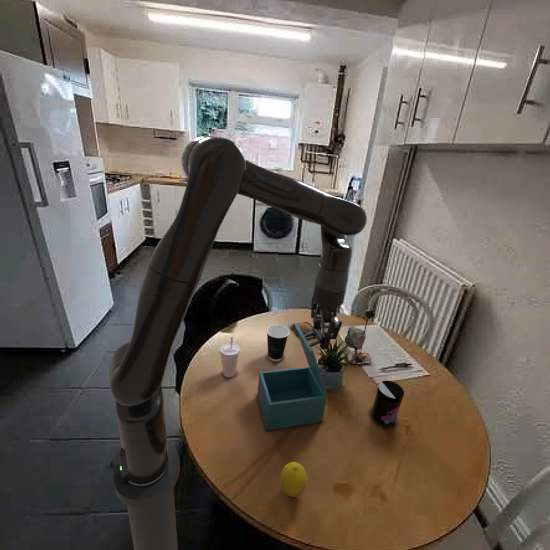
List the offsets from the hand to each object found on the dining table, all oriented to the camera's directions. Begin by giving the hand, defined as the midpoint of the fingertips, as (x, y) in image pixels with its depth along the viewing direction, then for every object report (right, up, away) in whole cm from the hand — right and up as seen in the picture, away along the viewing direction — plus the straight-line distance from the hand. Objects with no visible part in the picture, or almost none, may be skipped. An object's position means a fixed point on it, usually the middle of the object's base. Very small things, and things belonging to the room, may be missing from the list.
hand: (319, 341), depth 82 cm
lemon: (-8, -30, -14) cm, 34 cm away
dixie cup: (-12, -12, +28) cm, 32 cm away
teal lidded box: (-8, -21, +7) cm, 23 cm away
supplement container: (+19, -23, +7) cm, 31 cm away
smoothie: (-27, -14, +18) cm, 35 cm away
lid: (-3, -5, +2) cm, 6 cm away
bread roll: (0, -6, +44) cm, 45 cm away
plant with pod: (+17, -13, +31) cm, 38 cm away
